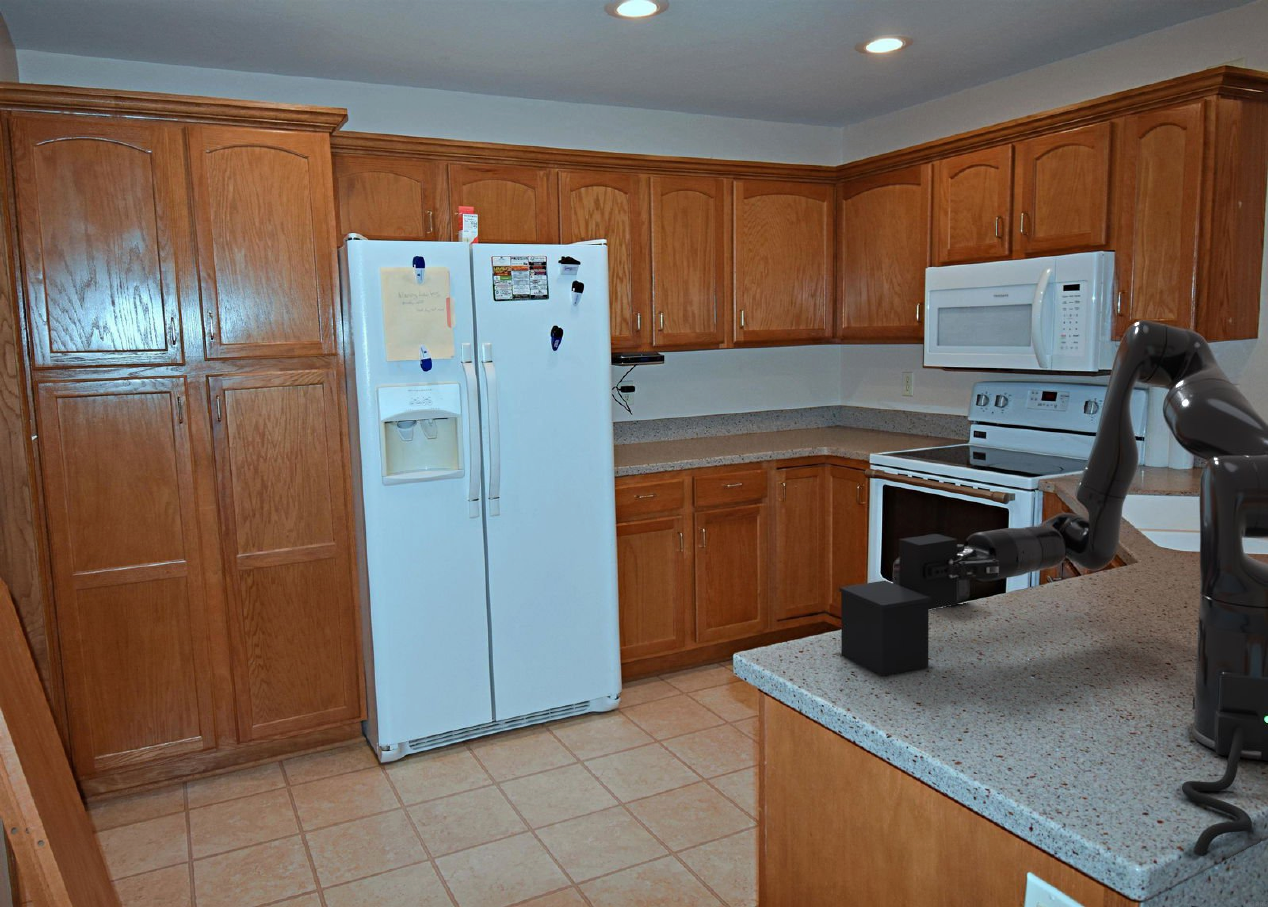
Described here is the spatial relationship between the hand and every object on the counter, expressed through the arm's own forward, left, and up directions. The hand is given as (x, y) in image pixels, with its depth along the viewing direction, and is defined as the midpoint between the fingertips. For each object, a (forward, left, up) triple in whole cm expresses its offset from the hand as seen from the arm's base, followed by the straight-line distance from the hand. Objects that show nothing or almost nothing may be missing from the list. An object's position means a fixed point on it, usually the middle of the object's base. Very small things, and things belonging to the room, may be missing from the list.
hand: (913, 567), depth 131 cm
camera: (+30, 0, -14) cm, 33 cm away
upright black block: (+2, -2, -6) cm, 7 cm away
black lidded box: (-4, +4, -13) cm, 14 cm away
